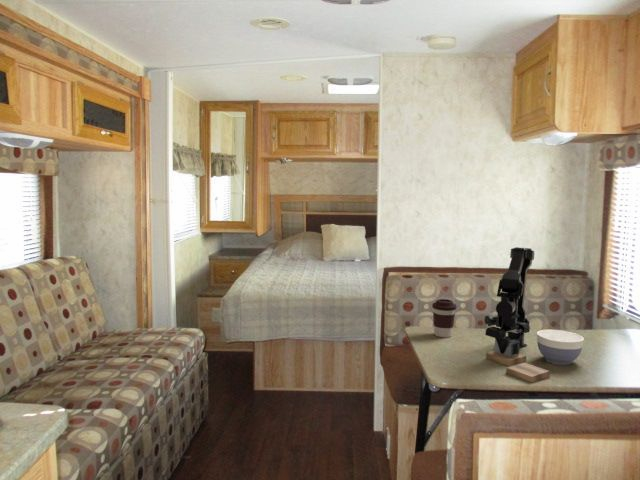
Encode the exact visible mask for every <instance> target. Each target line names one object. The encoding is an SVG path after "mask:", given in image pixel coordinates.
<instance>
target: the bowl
mask: <svg viewBox="0 0 640 480" xmlns="http://www.w3.org/2000/svg"><path fill="white" fill-rule="evenodd" d="M584 340H585V338H584V337H583V336H582V335H580V334H578V333H575V332H573V331H568V330H561V329H541V330H538V331H537V332H536V341H537V342H536V343H537V347H538V350H539V352H540V354H541V355H542V357H544V359H545V361H546V362H548V363H551V364H554V365H562V366H567V365H571V364H572V363H573V362H574V361H575V360H577V358H579V356H580V354H581V353H582V350H583V347H584V342H585V341H584Z"/></svg>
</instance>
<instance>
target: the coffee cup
mask: <svg viewBox="0 0 640 480" xmlns="http://www.w3.org/2000/svg"><path fill="white" fill-rule="evenodd" d="M431 305H432V308H433V312H432V313H433V314H432V315H433V316H432V317H433V319H432V320H433V335H435V336H436V337H438V338H450V337H452V336H453V327H454V324H455V316H456V312H455V311H456V310H457V307H458V306H457V304H455V303H454V301H453V300H451V299H446V298H439V299H436V300H435V302H433V303H432V304H431Z"/></svg>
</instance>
